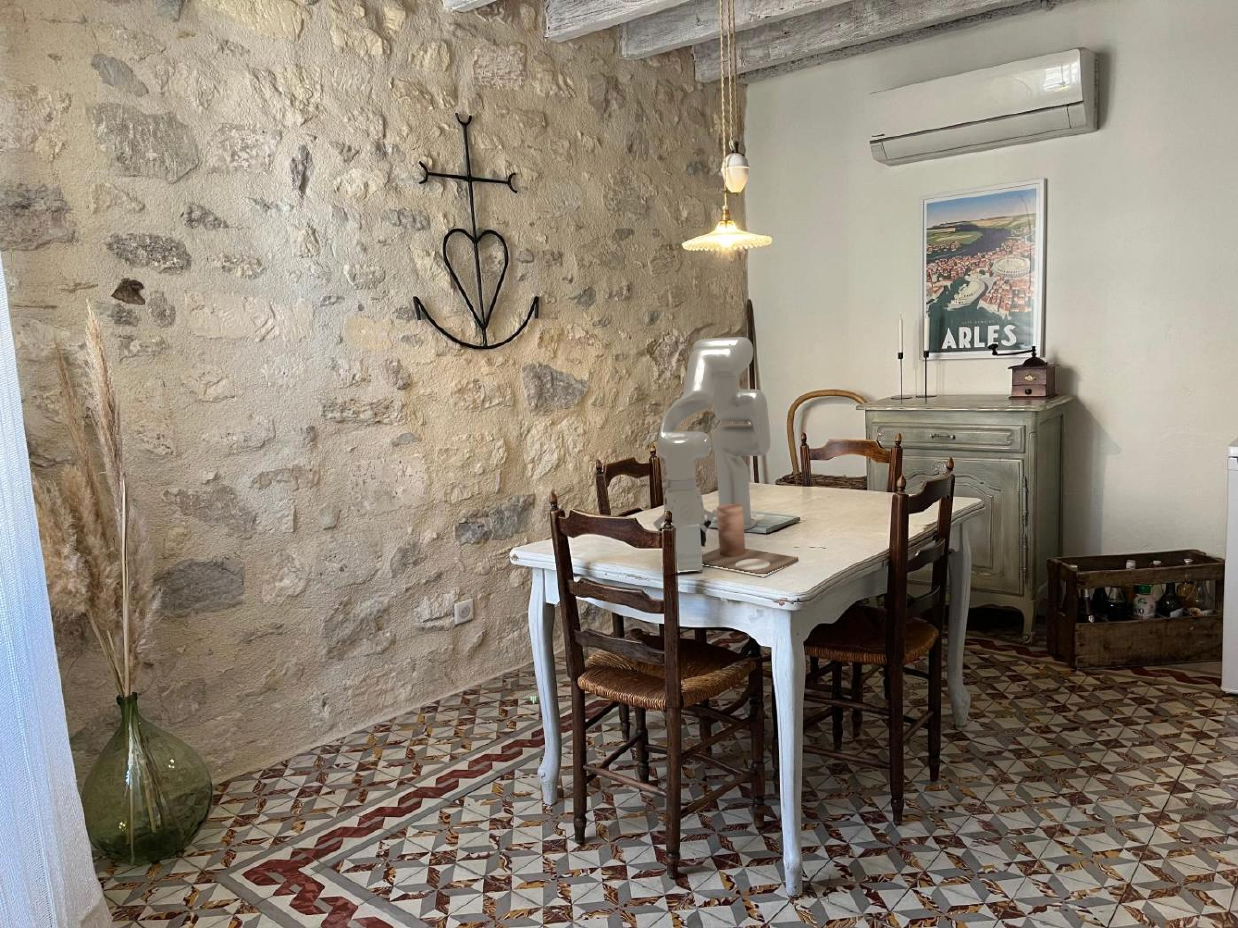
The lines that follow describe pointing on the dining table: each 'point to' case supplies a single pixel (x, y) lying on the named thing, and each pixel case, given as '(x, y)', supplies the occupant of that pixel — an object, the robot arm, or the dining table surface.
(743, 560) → the board
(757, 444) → the robot arm
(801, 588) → the dining table surface
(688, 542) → the supplement box
